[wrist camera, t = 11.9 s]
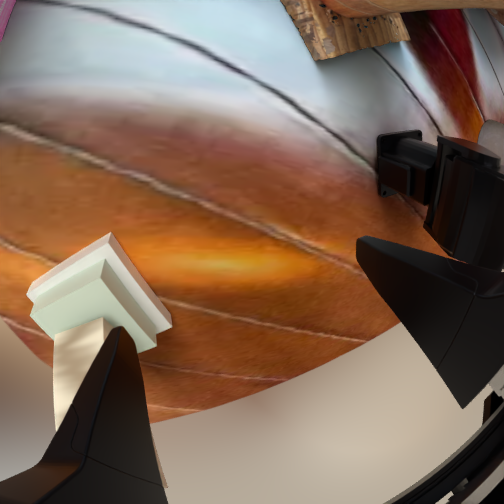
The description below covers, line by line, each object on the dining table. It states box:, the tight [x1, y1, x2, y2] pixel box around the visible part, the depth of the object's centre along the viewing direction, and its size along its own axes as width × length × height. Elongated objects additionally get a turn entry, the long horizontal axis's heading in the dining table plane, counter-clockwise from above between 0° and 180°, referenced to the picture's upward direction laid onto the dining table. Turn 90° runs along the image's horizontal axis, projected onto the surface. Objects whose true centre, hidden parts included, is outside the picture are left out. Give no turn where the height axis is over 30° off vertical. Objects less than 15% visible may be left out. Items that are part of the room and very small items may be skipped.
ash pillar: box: [53, 317, 168, 488], centre depth 15 cm, size 5×5×12 cm
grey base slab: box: [26, 232, 172, 334], centre depth 22 cm, size 10×10×2 cm
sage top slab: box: [30, 259, 157, 354], centre depth 20 cm, size 8×8×2 cm
